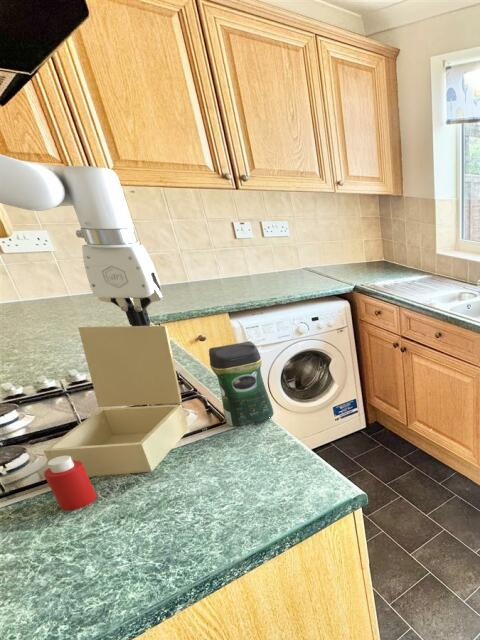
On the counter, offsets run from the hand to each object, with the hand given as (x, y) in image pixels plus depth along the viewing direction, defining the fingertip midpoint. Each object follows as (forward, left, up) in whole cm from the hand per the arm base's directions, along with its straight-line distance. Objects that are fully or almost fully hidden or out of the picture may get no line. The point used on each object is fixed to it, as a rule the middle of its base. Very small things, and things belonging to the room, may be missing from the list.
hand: (141, 327), depth 89 cm
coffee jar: (+18, -4, -22) cm, 28 cm away
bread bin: (0, -16, -21) cm, 27 cm away
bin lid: (0, -7, -6) cm, 9 cm away
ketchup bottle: (0, -31, -21) cm, 38 cm away
